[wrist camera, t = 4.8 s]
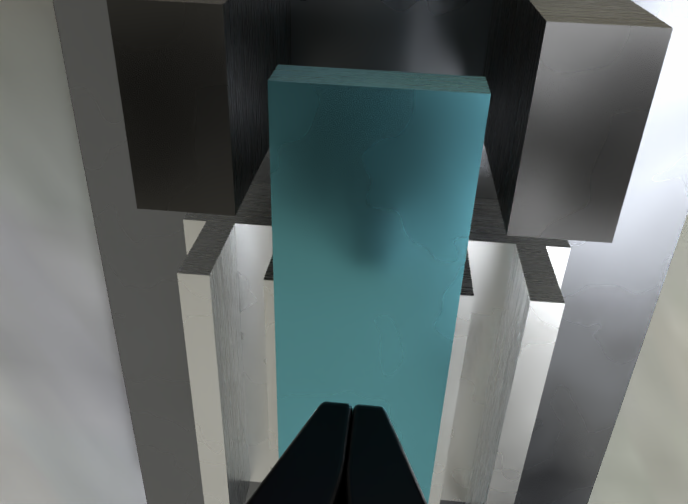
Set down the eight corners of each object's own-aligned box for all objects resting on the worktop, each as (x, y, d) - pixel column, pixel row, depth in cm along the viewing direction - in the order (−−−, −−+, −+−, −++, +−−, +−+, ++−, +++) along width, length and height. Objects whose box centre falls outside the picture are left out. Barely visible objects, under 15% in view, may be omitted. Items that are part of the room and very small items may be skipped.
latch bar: (400, 646, 18) (400, 695, 17) (290, 633, 18) (283, 681, 17) (483, 72, 10) (492, 99, 9) (280, 60, 10) (265, 84, 9)
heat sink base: (561, 513, 23) (612, 741, 17) (163, 475, 23) (80, 679, 18) (744, -64, 13) (1003, -1, 7) (70, -93, 14) (-171, -58, 8)
